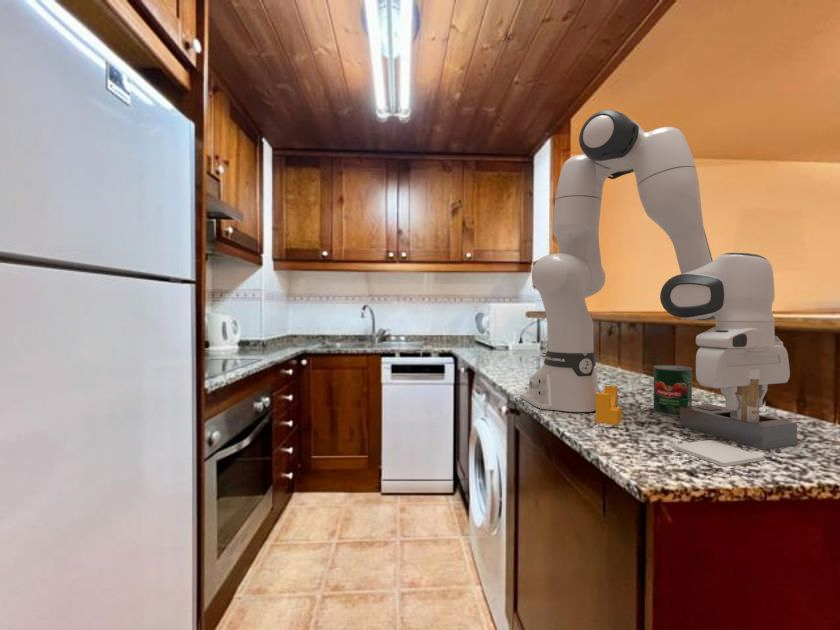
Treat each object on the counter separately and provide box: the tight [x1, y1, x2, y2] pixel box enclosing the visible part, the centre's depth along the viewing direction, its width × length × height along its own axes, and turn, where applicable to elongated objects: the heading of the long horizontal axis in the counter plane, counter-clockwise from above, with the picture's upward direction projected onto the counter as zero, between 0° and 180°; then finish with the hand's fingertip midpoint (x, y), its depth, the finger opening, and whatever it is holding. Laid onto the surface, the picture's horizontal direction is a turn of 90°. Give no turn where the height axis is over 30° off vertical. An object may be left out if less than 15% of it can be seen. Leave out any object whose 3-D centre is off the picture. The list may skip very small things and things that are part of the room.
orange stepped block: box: [595, 385, 623, 426], centre depth 92 cm, size 12×4×6 cm, turn 145°
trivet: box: [671, 439, 766, 468], centre depth 68 cm, size 9×9×1 cm
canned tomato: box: [653, 364, 693, 417], centre depth 96 cm, size 8×8×11 cm
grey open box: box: [679, 403, 798, 451], centre depth 79 cm, size 16×9×4 cm, turn 17°
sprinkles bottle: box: [730, 369, 760, 423], centre depth 77 cm, size 5×5×14 cm
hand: (744, 408), depth 77 cm, fingers closed on sprinkles bottle, 4 cm apart
